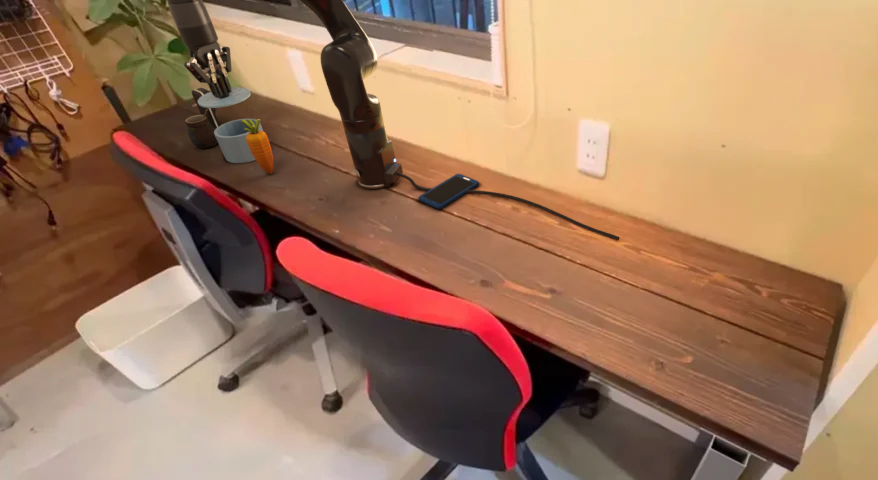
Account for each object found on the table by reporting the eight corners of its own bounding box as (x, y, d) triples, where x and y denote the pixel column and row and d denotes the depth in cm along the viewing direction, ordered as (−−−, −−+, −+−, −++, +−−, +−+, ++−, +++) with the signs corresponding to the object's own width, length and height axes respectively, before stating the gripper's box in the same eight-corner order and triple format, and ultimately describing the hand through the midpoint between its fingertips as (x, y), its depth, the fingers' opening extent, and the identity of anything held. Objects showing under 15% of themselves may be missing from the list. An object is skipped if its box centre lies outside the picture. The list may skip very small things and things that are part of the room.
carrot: (284, 169, 135) (263, 114, 125) (275, 179, 131) (253, 122, 121) (266, 169, 135) (244, 114, 125) (257, 178, 132) (233, 122, 122)
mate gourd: (191, 145, 148) (174, 111, 142) (218, 136, 152) (203, 103, 145) (198, 153, 144) (181, 119, 137) (225, 144, 147) (210, 110, 141)
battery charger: (228, 127, 156) (212, 89, 149) (216, 132, 154) (199, 94, 147) (218, 121, 160) (201, 85, 152) (206, 126, 158) (189, 89, 150)
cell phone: (480, 184, 124) (480, 181, 124) (439, 210, 116) (438, 207, 116) (458, 175, 128) (458, 172, 127) (417, 200, 120) (416, 197, 120)
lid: (261, 92, 136) (253, 69, 132) (229, 112, 127) (219, 87, 123) (222, 89, 139) (212, 66, 135) (188, 108, 130) (176, 84, 126)
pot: (278, 145, 146) (269, 120, 141) (252, 165, 137) (241, 139, 132) (243, 141, 148) (233, 117, 144) (216, 161, 140) (204, 135, 135)
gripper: (184, 30, 115) (217, 106, 126) (226, 13, 125) (253, 85, 136) (157, 29, 117) (192, 104, 128) (201, 13, 127) (229, 83, 138)
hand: (223, 94), depth 132 cm, fingers closed on lid, 2 cm apart
